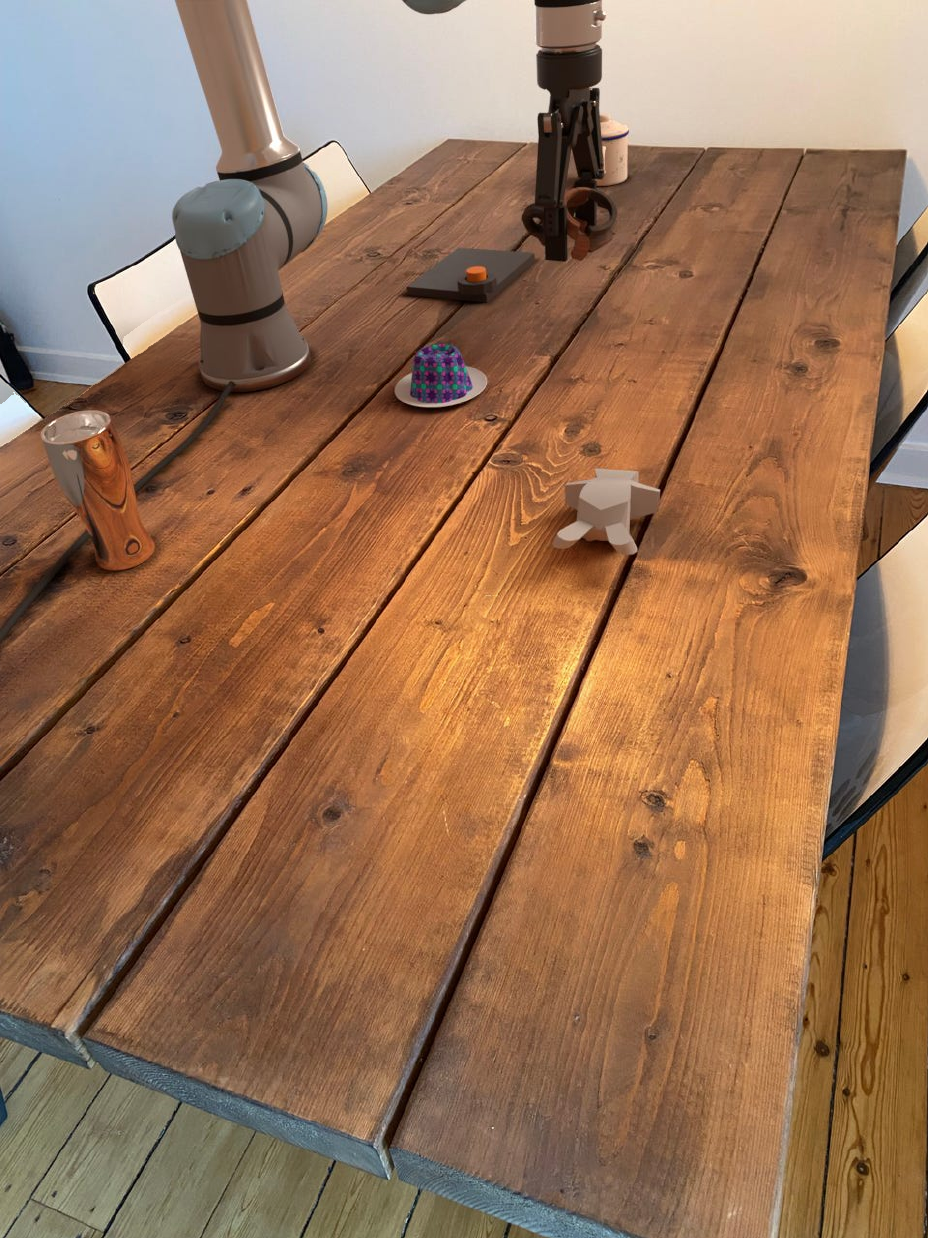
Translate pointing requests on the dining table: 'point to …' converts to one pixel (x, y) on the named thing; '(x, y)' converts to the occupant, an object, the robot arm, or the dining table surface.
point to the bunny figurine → (607, 509)
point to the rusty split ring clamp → (577, 221)
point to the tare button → (476, 274)
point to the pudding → (440, 378)
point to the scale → (452, 279)
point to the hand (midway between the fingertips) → (571, 245)
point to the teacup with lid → (613, 151)
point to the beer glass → (98, 486)
